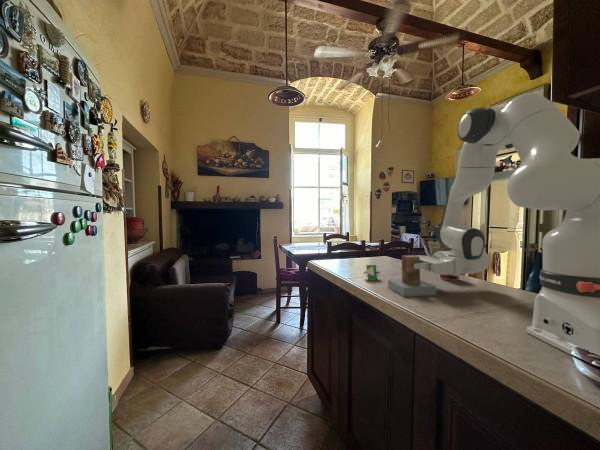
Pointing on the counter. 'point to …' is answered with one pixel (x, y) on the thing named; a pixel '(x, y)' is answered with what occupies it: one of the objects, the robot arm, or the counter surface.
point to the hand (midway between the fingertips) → (408, 264)
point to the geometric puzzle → (371, 272)
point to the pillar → (410, 270)
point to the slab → (412, 288)
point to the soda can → (449, 277)
